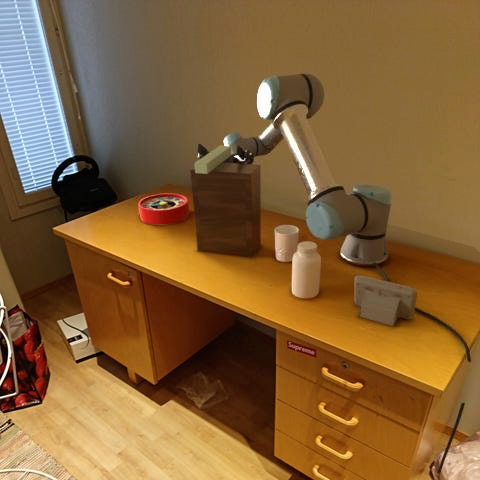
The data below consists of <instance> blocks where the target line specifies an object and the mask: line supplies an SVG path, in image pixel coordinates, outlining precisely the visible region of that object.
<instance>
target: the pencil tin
mask: <svg viewBox="0 0 480 480" xmlns="http://www.w3.org/2000/svg"><path fill="white" fill-rule="evenodd" d="M209 152H210V153H208V154H207V155H206V156H204V157H203V158H201V159H198V160H196V161H195V162H194V167H195V173H203V174H208V173H209V172H210V171H212V170H213V169H214V168H215V167H217V166H218V165H219V164H221V163H222V162H223V161H224V160H226V159H227V158H228V157H230V156H231V146H224V145H218V146H217V147H215V148H214V149H213V150H211V151H209Z"/></svg>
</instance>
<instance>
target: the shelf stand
mask: <svg viewBox="0 0 480 480" xmlns="http://www.w3.org/2000/svg"><path fill="white" fill-rule="evenodd" d="M189 171H190V181H191V193H192V204H193V215H194V217H193V218H194V226H195V227H194V229H195V237H196V238H195V239H196V251H197V252H201V253H208V254H217V255H225V256H233V257H240V258H241V257H242V258H250V259H253V258H254V257H255V254H256V253H257V252H258V250H259V249H260V247H262V246H261V244H262V243H261V241H262V239H261V238H262V237H261V236H262V235H261V233H262V230H261V229H262V228H261V227H262V225H261V224H262V222H261V221H262V220H261V219H262V218H261V213H262V212H261V210H262V209H261V207H262V206H261V205H262V204H261V198H262V197H261V190H262V189H261V186H262V185H261V181H262V180H261V179H262V178H261V177H262V176H261V175H262V174H261V164H253V163H252V164H239V163H223V162H222V163H221V164H219V165H218V166H217V167H215V168H214V169H213V170H212V171H210V172H209V173H208V174H203V173H195V166H193V167H192V168H191V169H189Z"/></svg>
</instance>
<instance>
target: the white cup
mask: <svg viewBox="0 0 480 480" xmlns="http://www.w3.org/2000/svg"><path fill="white" fill-rule="evenodd" d="M299 235H300V229H299V228H298V226H296V225H291V224H281V225H277V226H276V227H274V250H275V259H276V260H277V261H279V262H283V263H290V262H291V263H292V259H293V256H294V254H295V253H296V252H297V251H298V244H299Z"/></svg>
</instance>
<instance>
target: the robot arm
mask: <svg viewBox="0 0 480 480" xmlns="http://www.w3.org/2000/svg"><path fill="white" fill-rule="evenodd" d="M324 101H325V90H324V85H323V84H322V82H321V80H320V79H319V78H318V77H317V76H315V75H313V74H311V73H300V74H299V73H298V74H297V73H296V74H289V75H288V74H287V75H279V76H278V75H274V76H270V77H266V78H264V79H263V80H262V82H261V83H260V85H259V87H258V91H257V98H256V106H257V111H258V114H259V116H260V119H262V120H264V121H270V123H269V125H268V126H267V127H266V128H265V129H264V130H263V131H262V132H261V133H260V134H259V135H256V136H250V137H249V136H248V137H244V138H243V136H242V135H241V133H240V132H232V133H230V134H228V135H226V136H225V137H224V139H223V146H231V156H230V157H228V158H227V159H226V160H224V161H223V163H239V164H253V163H254V162H255V157H262V156H268V155H267V154H268V153H270V152H271V151H272V150H273V149H274V148H275V147H276V146H277V145H278V144H279V145H280V144H281V142H282V141H284V142H285V143H286V146H287V148H288V151H289V153H290V155H291V157H292V160H293V163H294V164H295V166H296V169H297V171H298V173H299V176H300V178H301V181H302V183H303V185H304V187H305V190H306V192H307V195H308V196H309V198H308V200H307V202H306V205H307V208H306V210H305V217H306V218H305V223H306V225H307V228H308V229H309V231H310V232H311V234H312V235H313V236H314V237H315V238H317V239H319V240H321V241H330V240H338V239H340V238H343V237H345V239H344V241H343V244H342V246H341V248H340V253H339V257H340V259H341V260H342V261H344V262H345V263H347V264H349V265H352V266H356V267H360V268H361V267H362V268H374V267H376V269H377V270H378V271H379V272H380V273H381V275H382V276H383V277H384V279H385V281H387V282H390V280H389V278H388V276H387V274H386V272H385V271H384V270H383V269H382V268H381V267H380V266H381V265H384V264H385V263H386V262H387V261H388V258H389V250H388V244H387V237H386V234H387V229H388V223H389V217H390V212H391V206H392V193H391V191H390V190H388V189H387V188H385V187H382V186H378V185H373V184H356V185H354V186H353V189H352V193H351V194H347V192H346V189H345V188H344V186H343V185H341V184H338V183H337V182H336V181H335V179H334V176H333V173H332V172H331V170H330V167H329V165H328V162H327V161H326V158H325V155H324V154H323V151H322V149H321V147H320V145H319V143H318V140H317V138H316V136H315V134H314V131H313V129H312V127H311V124H310V122H309V119H312V118H313V116H315V115H316V114H317V113H318V112H319V110H320V109H321V108H322V106H323V104H324ZM210 152H211V151H209V150H208V149H207V148H206V147H205V146H204V145H202V144H201V143H198V144H197V154H198V156H197V159H198V160H200V159H201V158H203V157H204V156H206V155H207V154H208V153H210ZM415 311H416V312H417V313H419V314H422V315H423V316H426V317H428V318H430V319H432V320H433V321H435V322H436V323H439V324H440V325H442V326H443V327H445V328H446V329H447V330H449V331H450V332H451V333H452V334H454V336H456V337H457V339H458V341H460V342H461V344H462V346H463V347H464V349H465V353H466V355H465V356H466V362H468V363H471V362H472V358H471V352H470V347H469V344H468V343H467V342H466V340H465V339H464V338H463V336H461V335H460V333H459V332H457V331H456V330H455V329H454V328H453V327H452V326H451V325H449V324H447V323H446V322H445V321H443V320H441V319H439V318H438V317H436V316H435V315H432V314H430V313H428V312H426V311H424V310H422V309H420V308H418V307H417V306H415ZM465 404H466V402H461V404H460V407H459V410H458V414H457V417H456V420H455V423H454V426H453V428H452V431H451V434H450V437H449V439H448V441H447V445H446V447H445V449H444V452H443V455H442V458H441V461H440V463H439V467H438V470H437V474H439V475H440V474H442V470H443V466H444V463H445V461H446V458H447V455H448V453H449V450H450V447H451V445H452V443H453V440H454V437H455V435H456V432H457V429H458V426H459V424H460V421H461V418H462V414H463V412H464V408H465Z"/></svg>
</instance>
